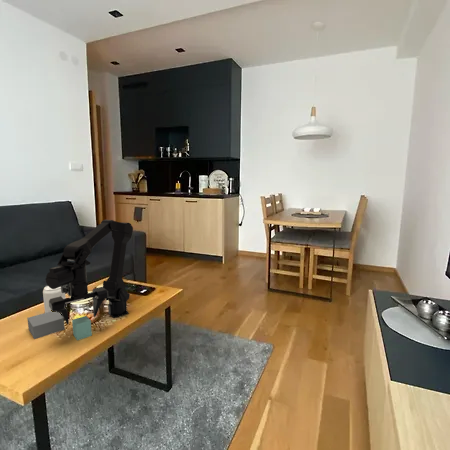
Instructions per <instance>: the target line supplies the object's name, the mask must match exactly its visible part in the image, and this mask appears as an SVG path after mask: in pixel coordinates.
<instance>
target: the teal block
mask: <svg viewBox="0 0 450 450" xmlns="http://www.w3.org/2000/svg"><path fill="white" fill-rule="evenodd" d="M71 324H72V334H73V337H74V338H75V339H76V341H79V340H83V339H86V338H89V337H91V336H93V333H92V321H91V319H90V318H89V317H88V316H87V315H85V316H81V317H77V318H74V319H71Z"/></svg>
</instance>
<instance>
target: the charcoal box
mask: <svg viewBox="0 0 450 450" xmlns="http://www.w3.org/2000/svg"><path fill="white" fill-rule="evenodd" d="M26 319H27V320H26V321H27V326H28V327H27V328H28V329H27V330H28V331H29V332H30V334H31V336H32V338H33V339H34V340H36V339H39V338H43V337H46V336H49V335H53V334H56V333H58V332H62V331H64V330H65V328H66V327H65V319H64V317H63V315H61V314H60V313H59V312H52V311H51V312H47V313H45V312H44V313H40V314H36V315H32V316H29V317H27V318H26Z"/></svg>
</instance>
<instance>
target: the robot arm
mask: <svg viewBox="0 0 450 450" xmlns="http://www.w3.org/2000/svg"><path fill="white" fill-rule="evenodd" d="M133 231H134V227H133V225H132V224H131V223H130V222H122V221H121V222H120V221H116V220H113V219H104V220H101V222H100V223H99V224H98V225H97V226H96V227H95V228H93V229H92V230H90V232H88V233H87V234H86V235H85V236H83V237H82V238H81V239H78V240H75V241H73V242H71V243H68V244H67V245H66V246H65V247H64V248H63V252H62V254H61V256H60V258H59V260H58V263H57V266H55V267H51V268H49V272H48V273H47V274H46V276H45V284H47V285H46V286H49V287H50V288H51V289H56V288H58V287H61V292H62V293H65V294H66V293H67V295H68V296H69V297H66V299H63V298H62V297H56V298H52V299H50V300H49V307H50V308H51V310H52V311H56V312H61V314H62V315H61V316H62V317H63V318H64V322H65V323H66V326H69V325H70V320H69V315H68V310H67V309H68V308H67V309H66V308H65V304H66V305H68V304H72V303H76V302H80V301H83V300H87V299H91V298H92V303H93V304H92V307H93V308H92V309H93V310H92V312H93V313H92V314H93V317H94V318H95V317H97V314H98V312H99V310H100V306H101V305H102V303H103V301H105V300H106V301H108V304H107V307H108V308H107V311H108V312H107V313H108V314H109V315H110V316H111V317H112V318H114V319H115V318H119V317H121V316H125V315H128V314H129V311H128V307H127V302H128V300H130V296H131V295H130V293H129V292H128V291H127V290H126V289H125V287H126V286H125V285H126V284H125V282H124V280H123V279H124V278H123V274H124V273H123V271H124V264H125V257H126V249H127V244H128V243H129V241H130V240H131V239H132V236H133ZM110 232H111V237H112V240H113V250H112V255H111V256H112V257H111V263H110V269H109V277H108V278H107V279H106V280H103V282H102V286H99V287H95V288H93V289H92V292H89V287H88V286H89V282H88V277H87V266H88V265H91V262H90V261H89V260H87V259H88V257H90V255H91V253H92V250H93V249H94V247H95V246H96V245H97V244H98V243H99V242H101V240H102V239H104V238H105V237H106V236H107V235H108V234H110Z"/></svg>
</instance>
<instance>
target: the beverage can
mask: <svg viewBox="0 0 450 450" xmlns="http://www.w3.org/2000/svg"><path fill="white" fill-rule="evenodd" d="M42 295H43V296H42V297H43V298H42V299H43V308H44V313H47V312H51V308H50V307H49V300H50V299H52V298H56V297H62V298H63V299H66V298H67V297H66V293H62V292H61V287H58V288H56V289H51V288H50V287H49V286H48V285H45V287H44V288H43V290H42Z"/></svg>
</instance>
